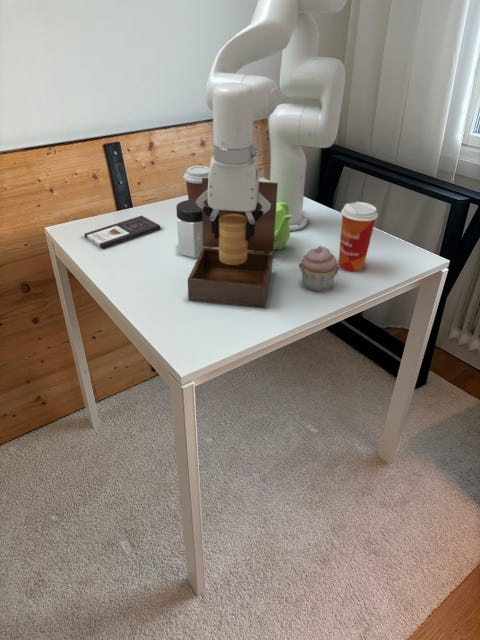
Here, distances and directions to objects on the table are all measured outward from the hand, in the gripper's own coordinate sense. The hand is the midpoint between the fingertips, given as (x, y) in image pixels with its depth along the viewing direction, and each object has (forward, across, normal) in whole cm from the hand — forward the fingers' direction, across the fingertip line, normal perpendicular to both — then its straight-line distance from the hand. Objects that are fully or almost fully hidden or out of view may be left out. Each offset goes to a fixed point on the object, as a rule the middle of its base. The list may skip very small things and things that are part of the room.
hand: (233, 236), depth 108 cm
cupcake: (+13, -19, -4) cm, 23 cm away
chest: (+12, 0, +1) cm, 12 cm away
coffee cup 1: (+13, +17, -41) cm, 47 cm away
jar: (+13, +13, -15) cm, 23 cm away
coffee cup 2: (+13, -27, -14) cm, 33 cm away
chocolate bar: (+13, +34, -21) cm, 42 cm away
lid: (-1, 0, -7) cm, 8 cm away
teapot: (+13, -5, -20) cm, 24 cm away
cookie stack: (+5, 0, 0) cm, 5 cm away
